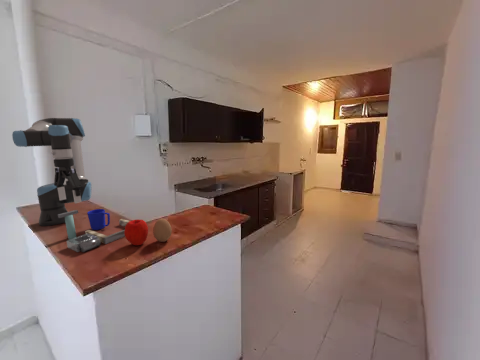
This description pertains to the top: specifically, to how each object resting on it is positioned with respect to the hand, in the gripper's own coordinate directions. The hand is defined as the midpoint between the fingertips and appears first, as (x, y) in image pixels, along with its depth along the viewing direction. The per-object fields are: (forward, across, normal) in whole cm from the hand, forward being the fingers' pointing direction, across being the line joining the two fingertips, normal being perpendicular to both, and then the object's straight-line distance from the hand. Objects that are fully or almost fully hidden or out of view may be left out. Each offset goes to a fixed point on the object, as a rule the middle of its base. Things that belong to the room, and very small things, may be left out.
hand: (70, 201), depth 114 cm
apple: (+19, +37, +8) cm, 42 cm away
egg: (+19, +45, +15) cm, 51 cm away
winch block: (+19, +16, -4) cm, 25 cm away
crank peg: (+19, -1, -2) cm, 19 cm away
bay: (+19, +14, +12) cm, 26 cm away
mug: (+19, +1, +12) cm, 23 cm away
